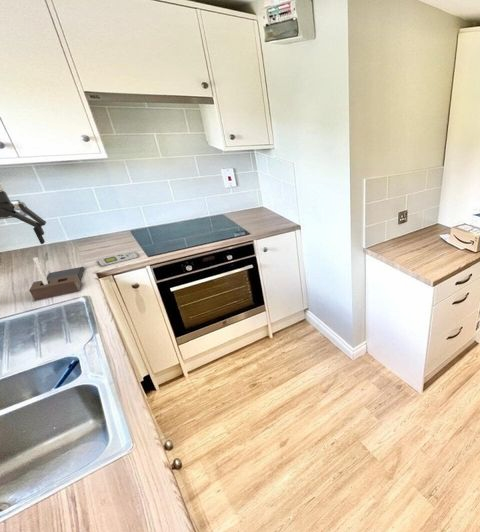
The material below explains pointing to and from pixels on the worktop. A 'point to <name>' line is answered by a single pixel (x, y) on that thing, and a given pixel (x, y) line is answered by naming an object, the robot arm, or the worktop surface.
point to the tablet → (67, 273)
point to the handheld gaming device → (117, 258)
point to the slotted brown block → (55, 287)
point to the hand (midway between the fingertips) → (18, 246)
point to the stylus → (40, 270)
